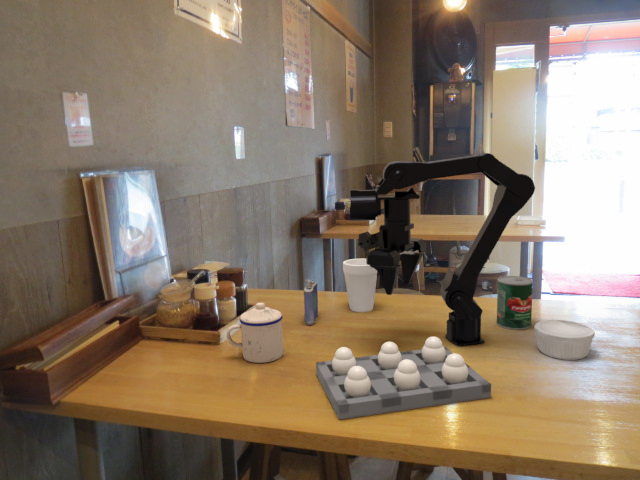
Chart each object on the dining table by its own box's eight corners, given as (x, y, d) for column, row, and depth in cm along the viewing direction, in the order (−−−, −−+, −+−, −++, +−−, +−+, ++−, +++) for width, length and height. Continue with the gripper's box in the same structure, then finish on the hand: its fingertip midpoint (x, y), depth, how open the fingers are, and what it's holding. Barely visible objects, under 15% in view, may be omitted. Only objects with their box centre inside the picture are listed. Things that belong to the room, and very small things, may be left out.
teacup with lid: (283, 346, 118) (280, 296, 116) (285, 362, 109) (282, 308, 107) (229, 350, 117) (226, 299, 115) (227, 366, 108) (223, 312, 106)
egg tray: (316, 374, 102) (315, 341, 101) (444, 358, 108) (445, 327, 106) (339, 419, 85) (337, 380, 84) (490, 397, 90) (491, 360, 89)
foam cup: (355, 316, 137) (354, 267, 135) (338, 307, 145) (336, 261, 143) (385, 309, 141) (384, 262, 139) (367, 301, 149) (366, 257, 147)
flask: (314, 326, 130) (312, 284, 129) (302, 325, 131) (300, 284, 129) (319, 314, 139) (317, 275, 138) (308, 314, 140) (306, 275, 138)
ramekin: (600, 350, 109) (601, 325, 108) (583, 367, 101) (584, 341, 100) (545, 338, 116) (546, 315, 116) (525, 353, 108) (526, 329, 108)
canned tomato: (519, 332, 121) (521, 286, 119) (489, 324, 127) (490, 280, 125) (537, 324, 125) (539, 279, 124) (508, 316, 132) (509, 274, 130)
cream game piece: (415, 383, 94) (416, 353, 93) (423, 395, 90) (424, 364, 89) (390, 385, 94) (390, 355, 93) (397, 397, 89) (398, 366, 88)
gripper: (382, 213, 125) (383, 276, 128) (343, 224, 110) (345, 295, 113) (426, 214, 119) (427, 281, 122) (391, 226, 104) (392, 302, 107)
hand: (398, 289), depth 116 cm, fingers open, 9 cm apart
